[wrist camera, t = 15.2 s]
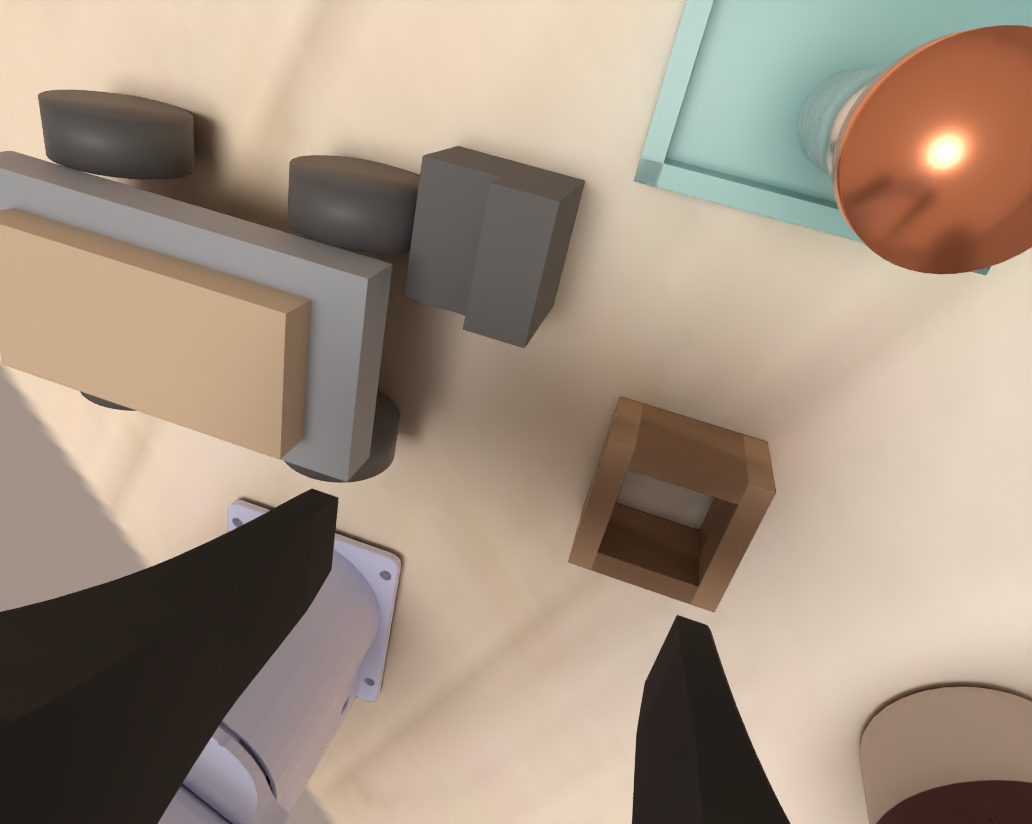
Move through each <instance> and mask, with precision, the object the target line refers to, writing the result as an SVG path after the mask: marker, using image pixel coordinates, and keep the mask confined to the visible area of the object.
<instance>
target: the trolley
mask: <svg viewBox="0 0 1032 824" xmlns="http://www.w3.org/2000/svg"><path fill="white" fill-rule="evenodd" d="M38 99H39V106H40V113H41V120H42V128H43V135H44V142H45V149H46V155H47V157H48V158H49V159H50V160H52V161H53V162H55V163H57V164H60V165H57V164H54V163H51V162H47V161H44V160H41V159H37V158H34V157H30V156H27V155H24V154H20V153H17V152H14V151H5V152H0V354H1V359H2V364H3V365H5V366H8V367H11V368H14V369H17V370H20V371H23V372H26V373H29V374H32V375H34V376H37V377H40V378H43V379H46V380H49V381H52V382H55V383H58V384H61V385H64V386H67V387H69V388H72V389H75V390H78V391H80V392H81V394H82V395H83V396H84V397H85V398H86V399H88V400H89V401H91V402H93V403H95V404H98V405H100V406H104V407H107V408H112V409H118V410H129V411H140V412H143V413H145V414H148V415H151V416H154V417H157V418H160V419H163V420H166V421H169V422H172V423H175V424H178V425H180V426H183V427H186V428H189V429H192V430H195V431H198V432H201V433H204V434H207V435H210V436H213V437H216V438H218V439H221V440H224V441H227V442H230V443H233V444H236V445H239V446H242V447H245V448H248V449H251V450H254V451H256V452H259V453H262V454H265V455H268V456H271V457H274V458H277V459H281V460H284V461H285V463H286V464H287V465H288V466H290V467H291V468H292V469H294V470H295V471H296V472H298V473H300V474H302V475H305V476H307V477H310V478H313V479H317V480H321V481H327V482H355V481H361V480H365V479H368V478H371V477H374V476H376V475H378V474H380V473H381V472H383V471H384V470H386V469H387V468H388V467H389V466H390V464H391V463H392V461H393V459H394V454H395V447H396V440H397V433H398V426H399V419H400V413H399V410H398V408H397V406H396V404H395V403H394V402H393V401H392V400H391V399H390V398H389V397H387V396H386V395H384V394H382V393H381V392H379V391H377V390H378V382H379V373H380V365H381V357H382V348H383V340H384V332H385V324H386V315H387V307H388V299H389V290H390V282H391V274H392V266H393V264H391V263H387V262H384V261H381V260H377V259H374V258H371V257H367V256H364V255H360V254H357V253H354V252H350V251H347V250H344V249H349V250H355V251H362V252H371V253H401V252H408V251H410V247H411V240H412V232H413V225H414V217H415V210H416V203H417V195H418V188H419V180H420V176H418V175H416V174H413V173H411V172H408V171H405V170H402V169H399V168H396V167H392V166H389V165H385V164H381V163H376V162H372V161H367V160H361V159H355V158H348V157H339V156H324V155H312V156H302V157H297V158H294V159H292V160H291V161H290V168H289V195H288V224H289V226H290V227H291V228H292V229H293V230H295V231H296V232H298V233H299V234H301V235H303V236H305V237H307V238H309V239H307V238H303V237H300V236H296V235H293V234H290V233H286V232H283V231H280V230H276V229H273V228H270V227H266V226H263V225H259V224H256V223H253V222H249V221H246V220H243V219H239V218H236V217H232V216H229V215H226V214H222V213H219V212H216V211H212V210H209V209H206V208H202V207H199V206H195V205H192V204H189V203H185V202H182V201H179V200H175V199H172V198H169V197H165V196H162V195H158V194H155V193H152V192H148V191H145V190H142V189H138V188H135V187H131V186H128V185H125V184H121V183H118V182H115V181H111V180H108V179H105V178H101V177H98V176H94V175H91V174H88V173H92V174H97V175H103V176H110V177H118V178H129V179H172V178H180V177H184V176H187V175H190V174H192V173H193V172H194V171H195V152H194V121H193V115H192V114H191V113H189V112H188V111H186V110H184V109H181V108H179V107H176V106H173V105H169V104H166V103H162V102H158V101H154V100H149V99H145V98H140V97H134V96H128V95H122V94H115V93H107V92H97V91H85V90H52V91H45V92H42V93H40V94H39V95H38ZM61 165H62V166H61ZM64 166H65V167H64ZM67 167H68V168H67ZM74 169H75V170H74ZM81 171H82V172H81ZM84 172H87V173H84ZM310 239H312V240H310ZM313 240H315V241H313ZM323 243H324V244H323ZM330 245H331V246H330ZM333 246H334V247H333ZM337 247H339V248H337ZM340 248H343V249H340Z"/></svg>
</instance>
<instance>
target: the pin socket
mask: <svg viewBox="0 0 1032 824" xmlns="http://www.w3.org/2000/svg"><path fill="white" fill-rule="evenodd" d="M627 469H629V470H632V471H635V472H638V473H641V474H644V475H647V476H650V477H654V478H657V479H660V480H663V481H666V482H669V483H672V484H675V485H678V486H682V487H685V488H688V489H691V490H694V491H697V492H700V493H703V494H706V495H709V496H713V497H715V498H714V500H713V502H712V505H711V507H710V509H709V511H708V513H707V516H706V518H705V520H704V522H703V524H702V527H701V529H700V531H698V530H695V529H692V528H689V527H685V526H682V525H679V524H676V523H673V522H670V521H667V520H664V519H661V518H658V517H655V516H652V515H649V514H646V513H643V512H640V511H637V510H634V509H631V508H628V507H625V506H622V505H619V504H616V503H615V502H616V499H617V497H618V494H619V491H620V488H621V486H622V483H623V480H624V477H625V475H626V472H627ZM775 493H776V488H775V483H774V477H773V471H772V465H771V460H770V454H769V448H768V442H765V441H762V440H759V439H756V438H752V437H749V436H746V435H743V434H739V433H736V432H733V431H730V430H726V429H723V428H720V427H717V426H713V425H710V424H707V423H704V422H701V421H697V420H694V419H691V418H688V417H684V416H681V415H678V414H675V413H671V412H668V411H665V410H662V409H658V408H655V407H652V406H649V405H646V404H642V403H639V402H636V401H633V400H629V399H626V398H623V397H620V400H619V403H618V406H617V409H616V412H615V415H614V418H613V421H612V424H611V427H610V430H609V433H608V436H607V439H606V442H605V445H604V448H603V451H602V454H601V457H600V460H599V463H598V466H597V469H596V472H595V475H594V478H593V481H592V484H591V487H590V490H589V493H588V496H587V499H586V501H585V504H584V507H583V510H582V514H581V517H580V521H579V525H578V528H577V532H576V535H575V539H574V542H573V546H572V550H571V553H570V557H569V560H568V562H569V563H572V564H575V565H577V566H580V567H583V568H586V569H589V570H592V571H595V572H598V573H601V574H604V575H607V576H610V577H612V578H615V579H618V580H621V581H624V582H627V583H630V584H633V585H636V586H639V587H642V588H644V589H647V590H650V591H653V592H656V593H659V594H662V595H665V596H668V597H671V598H674V599H677V600H679V601H682V602H685V603H688V604H691V605H694V606H697V607H700V608H703V609H706V610H709V611H712V612H715V610H716V608H717V606H718V605H719V603H720V601H721V599H722V597H723V595H724V593H725V591H726V589H727V587H728V585H729V583H730V581H731V579H732V577H733V575H734V573H735V571H736V569H737V567H738V566H739V564H740V562H741V560H742V558H743V556H744V554H745V552H746V550H747V548H748V546H749V544H750V542H751V540H752V538H753V536H754V534H755V532H756V530H757V528H758V527H759V525H760V523H761V521H762V519H763V517H764V515H765V513H766V511H767V509H768V507H769V505H770V503H771V501H772V499H773V497H774V495H775Z"/></svg>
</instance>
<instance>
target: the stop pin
mask: <svg viewBox="0 0 1032 824" xmlns="http://www.w3.org/2000/svg"><path fill="white" fill-rule="evenodd" d="M797 138H798V143H799V146H800V148H801V150H802V152H803V154H804V155H805V156H806V158H807V159H808V160H809V161H810V162H812V163H813V164H814V165H815V166H817V167H818V168H819V169H820V170H822V171H823V172H824V173H825V174H827V175H828V176H829V177H830V178H832V186H833V192H834V197H835V200H836V203H837V206H838V209H839V210H840V212H841V214H842V216H843V218H844V220H845V221H846V223H847V224H848V225H849V227H850V228H851V230H852V231H853V232H854V233H855V234H856V235H857V236H858V237H859V238H860V239H861V240H862V241H863V242H864V243H865V244H866V245H867V246H868V247H869V248H870V249H871V250H872V251H874V252H875V253H876V254H878V255H879V256H880V257H882V258H883V259H885V260H887V261H889V262H891V263H893V264H895V265H897V266H900V267H903V268H906V269H909V270H913V271H918V272H922V273H933V274H955V273H963V272H970V271H975V270H979V269H983V268H987V267H990V266H993V265H995V264H998V263H1001V262H1004V261H1006V260H1008V259H1010V258H1012V257H1015V256H1017V255H1019V254H1021V253H1023V252H1024V251H1026V250H1028V249H1029V248H1031V247H1032V27H1029V26H1023V25H999V26H990V27H983V28H977V29H971V30H965V31H961V32H956V33H952V34H948V35H944V36H942V37H939V38H936V39H934V40H931V41H928V42H926V43H924V44H922V45H920V46H918V47H916V48H914V49H912V50H911V51H909V52H907V53H906V54H904V55H903V56H901V57H900V58H898V59H896V60H895V61H894V62H893V63H891V64H890V65H889V66H885V67H867V68H852V69H847V70H843V71H840V72H837V73H835V74H833V75H831V76H829V77H828V78H826V79H825V80H823V81H822V82H821V83H820V84H818V85H817V86H816V87H815V88H814V89H813V90H812V92H811V93H810V94H809V95H808V97H807V98H806V100H805V102H804V103H803V106H802V108H801V110H800V113H799V116H798V121H797Z"/></svg>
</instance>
